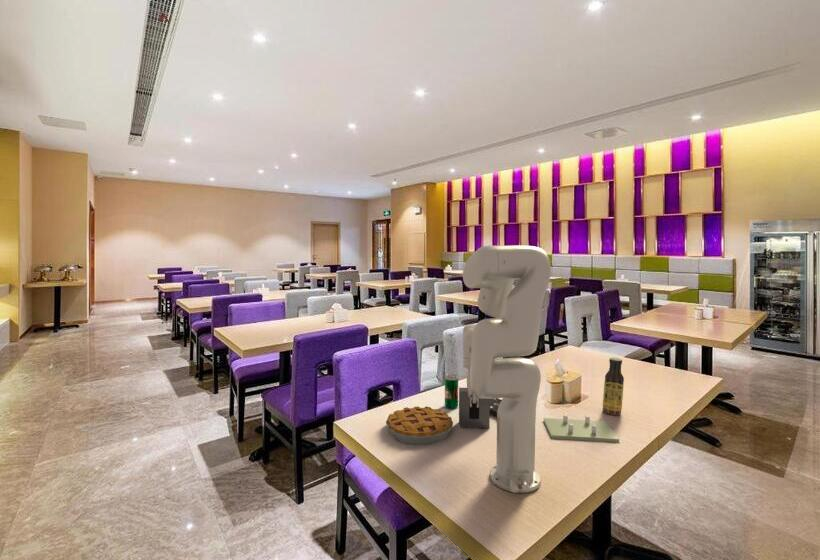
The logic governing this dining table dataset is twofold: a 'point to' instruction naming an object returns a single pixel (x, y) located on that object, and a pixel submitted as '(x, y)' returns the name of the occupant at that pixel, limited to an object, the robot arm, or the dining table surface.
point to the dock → (580, 429)
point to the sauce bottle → (613, 388)
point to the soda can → (451, 391)
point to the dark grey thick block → (464, 411)
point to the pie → (419, 425)
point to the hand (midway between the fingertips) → (474, 415)
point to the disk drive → (494, 406)
